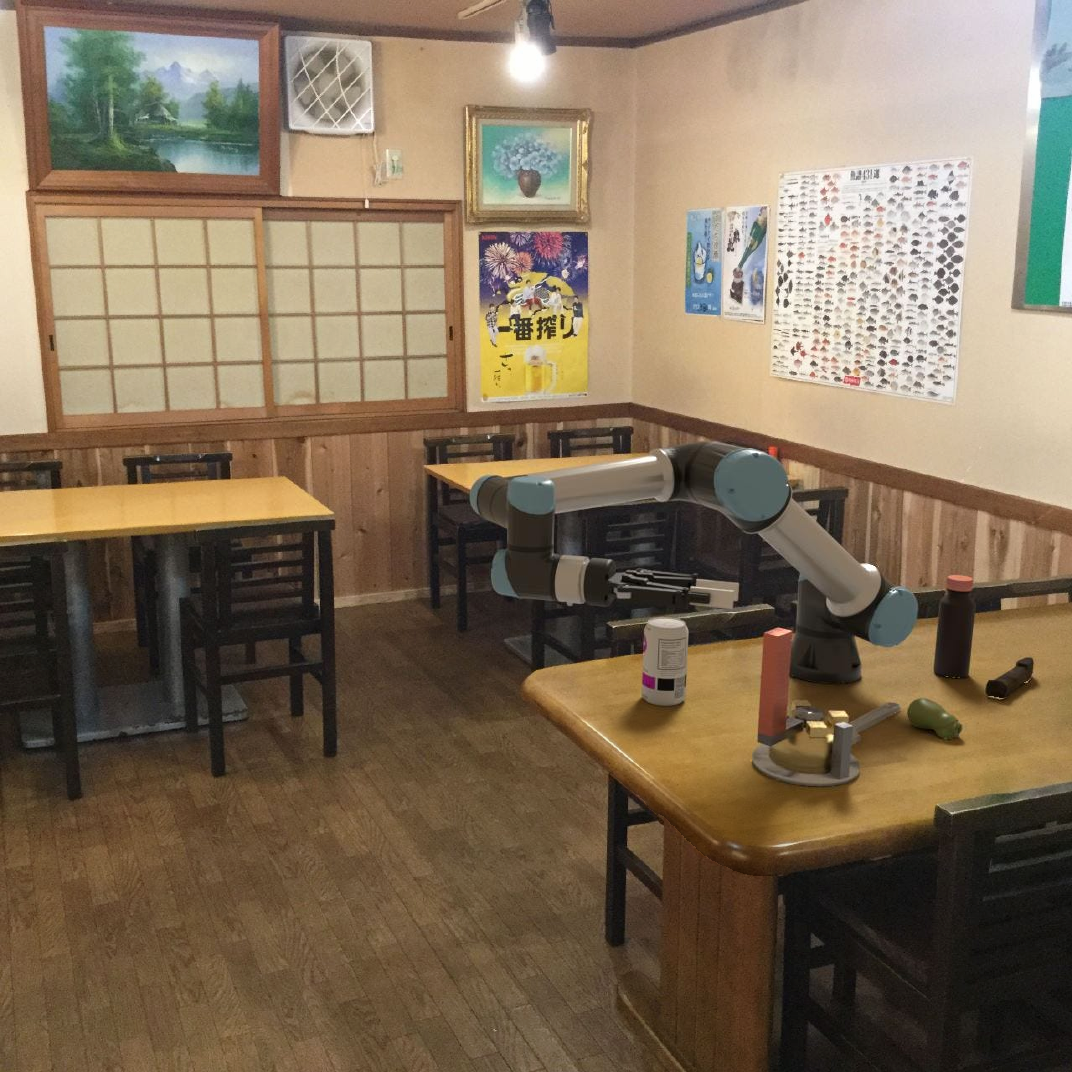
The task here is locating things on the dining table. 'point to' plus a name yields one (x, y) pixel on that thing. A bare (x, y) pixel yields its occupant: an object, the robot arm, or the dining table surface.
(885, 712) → the adjustable wrench
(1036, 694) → the dining table surface
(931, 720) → the pear
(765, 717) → the toy block assembly
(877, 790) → the dining table surface
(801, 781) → the spindle base
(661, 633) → the supplement can
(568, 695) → the dining table surface
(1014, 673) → the dark brown bar
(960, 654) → the bottle
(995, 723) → the dining table surface
